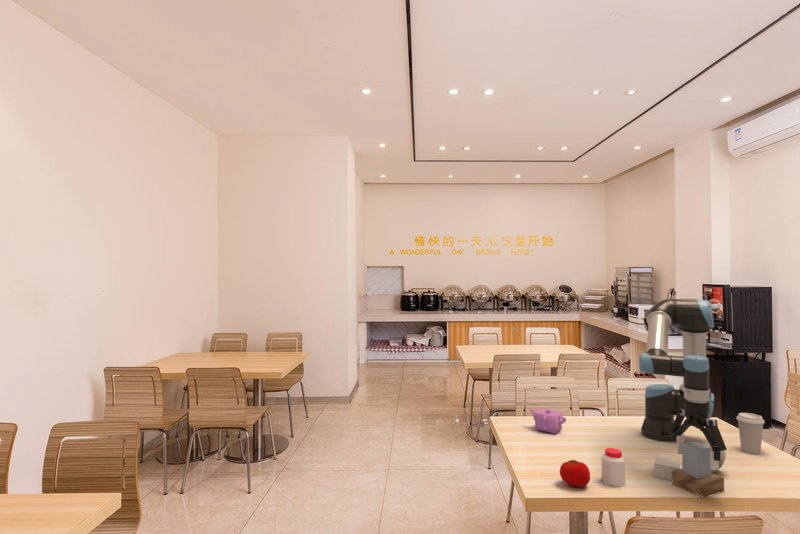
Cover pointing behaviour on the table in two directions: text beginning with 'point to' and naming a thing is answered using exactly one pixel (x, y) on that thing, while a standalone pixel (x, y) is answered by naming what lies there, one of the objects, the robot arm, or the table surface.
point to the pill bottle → (613, 467)
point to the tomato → (575, 473)
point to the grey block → (665, 467)
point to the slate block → (696, 459)
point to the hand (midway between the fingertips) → (697, 461)
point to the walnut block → (698, 483)
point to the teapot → (548, 420)
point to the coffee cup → (750, 432)
